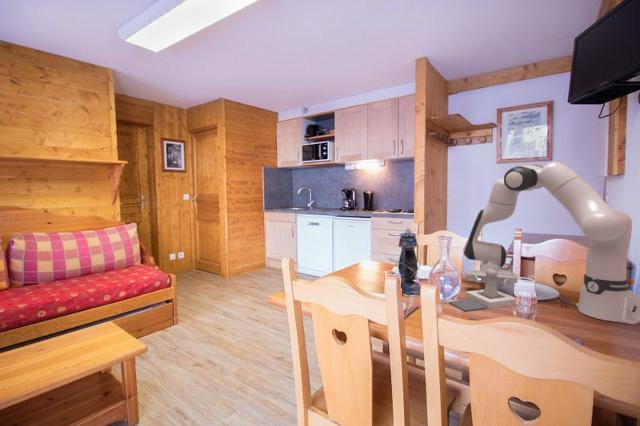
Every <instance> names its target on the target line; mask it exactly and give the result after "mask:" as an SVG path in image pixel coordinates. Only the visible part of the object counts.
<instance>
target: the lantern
mask: <svg viewBox="0 0 640 426" xmlns="http://www.w3.org/2000/svg"><path fill="white" fill-rule="evenodd" d="M399 236H400V238H399V241H398V247H400V248H401V251H400V255H399V260H398V261H397V262H396V263H395V265H396V267H397V269H398V273H399V275H400V281H401V288H402V295H401V296H403V294H406V295H418V296H421V295H420V289H421V285H420V283H418V282H416V279H417V278H416V277H417V275H418V270H419V268H420V266H421V262H420V260H418V259H417V255H416V251H415V248H417V247H419V245H418V239H417V238H416V236H417V234H416V233H415V232H411V231H410V228H406V231H405V232H401V233H399ZM418 262H419V264H418Z"/></svg>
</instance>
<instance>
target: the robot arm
mask: <svg viewBox="0 0 640 426" xmlns="http://www.w3.org/2000/svg"><path fill="white" fill-rule="evenodd" d="M540 188H544V189H545V190H547V191H548V193H550V194H551V195H552V197H553V198H555V199H556V200H557V202H558V203H560V204H561V205H562V207H564V208H565V210H566V211H567V212H568V213H569V214H570V215H571V217H572V219H573V220H574V221H575V223H576V224H577V225H578V227H579V228H580V229H581V231H582V233H583V235H585V237H586V238H588V239H589V245H588V249H587V252H586V255H585V274H583V277H582V278H583V285H582V286H581V288H580V295H579V302H576V304H575V305H576V307H577V308H578V311H579V312H580V313H582V314H584V315H585V316H588V317H591V318H594V319H597V320H598V319H599V320H602V321H608V322H616V323H623V324H628V325H636V324H640V297H639V296H638V295H637V294H636V293H634V292H633V291H632V290H631V289H630V285H631V286H634V284H635V283H636V281H635V279H629V278H627V268H628V267H627V266H628V255H629V250H630V244H631V238H632V230H633V220H632V218H631V217H630V215H628V214H627V213H626V212H624V211H622V210H619V209H615V208H614V209H613V208H611V207H610V206H609V205H608V204H607V203H606V202H605V201H604V199H603V198H602V197H601V195H600V194H599V193H598V191H597V190H595V189H594V188H593V187H592V186H591V185H590V184H589V183H588V182H587V181H586V180H584V179H583V177H581V176H580V175H579V174H577V172H575V171H574V170H573V169H572V168H570V167H568V166H567V165H565V164H563V163H562V162H561V161H560V162H559V161H552V162H549V163H547V164H545V165H544V166H542V165H539V164H538V165H537V164H532V165H531V164H524V165H518V166H514V167H512V168H510V169H508V170H507V171H506V172H505V174H504V176H503V177H501V178H499V179H497V180H496V181H494V183H493V186H492V189H491V191H490V195H489V199H488V204H487V205H486V206H485V208H483V209H481V210H480V211H479V212H478V214H477V216H476V219H475V221H474V223H473V226H472V228H471V230H470V233H469V236H468V239H467V240H466V242H465V244H464V246H463V255H464V256H465V257H466V259H467V260H470V261H479V262H481V264H480V266H479V270H473V269H469V270H467V271H466V272H465V281H467V282H475V283H479V284H480V283H484V284H486V280H487V276H486V275H485V273H486V271H487V270H493V271H496V272H497V276H496V277H495V278H496V283H497V285H501V286H507V285H509V286H515V285H514V283H517V284H518V277H517V275H516V274H515V273H514V272H513V270H512V269H510V268H505V267H504V266H505V264H506V261H507V251H506V247H504V246H503V245H502V244H501V243H500V244H499V243H493V242H485V241H482V240H481V241H480V240H479V237H480V234H481V232H482V229H483V228H484V226H485V225H487V224H491V223H496V222H500V221H501V222H502V221H505V220H508V219H509V218H510V217H512V216H513V214H514V212H515V209H516V206H517V202H518V201H517V200H518V198H519V194H520V193H521V192H528V191H529V192H530V191H533V190H538V189H540Z"/></svg>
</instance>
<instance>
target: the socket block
mask: <svg viewBox="0 0 640 426" xmlns="http://www.w3.org/2000/svg"><path fill="white" fill-rule="evenodd" d="M484 289H485V288H484ZM484 289H476V290H467V291H465V293H464V297H465V298H466V299H470V300H472V301H474V302H476V303H478V304H480V305H482V306H484V307H487V308H488V309H496V308H503V307H511V306H516V305H515V301H516V299H515V298H516V297H514V296H512V295H510V294H507V293H504V292H502V291H499V290H498V294H499V297H498V298H495V299H489V298H486V297H484V296H483V293H484Z"/></svg>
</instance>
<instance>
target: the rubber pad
mask: <svg viewBox="0 0 640 426" xmlns="http://www.w3.org/2000/svg"><path fill="white" fill-rule="evenodd" d="M448 304H449V305H451V306H454V307H455V308H457V309H459V310H461V311H463V312H464V313H467V312H474V311H481V310H487V307H485V306H483V305H481V304H479V303H477V302H475V301H473V300H470V299H468V298H466V299H459V300H451V301H448Z"/></svg>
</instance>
